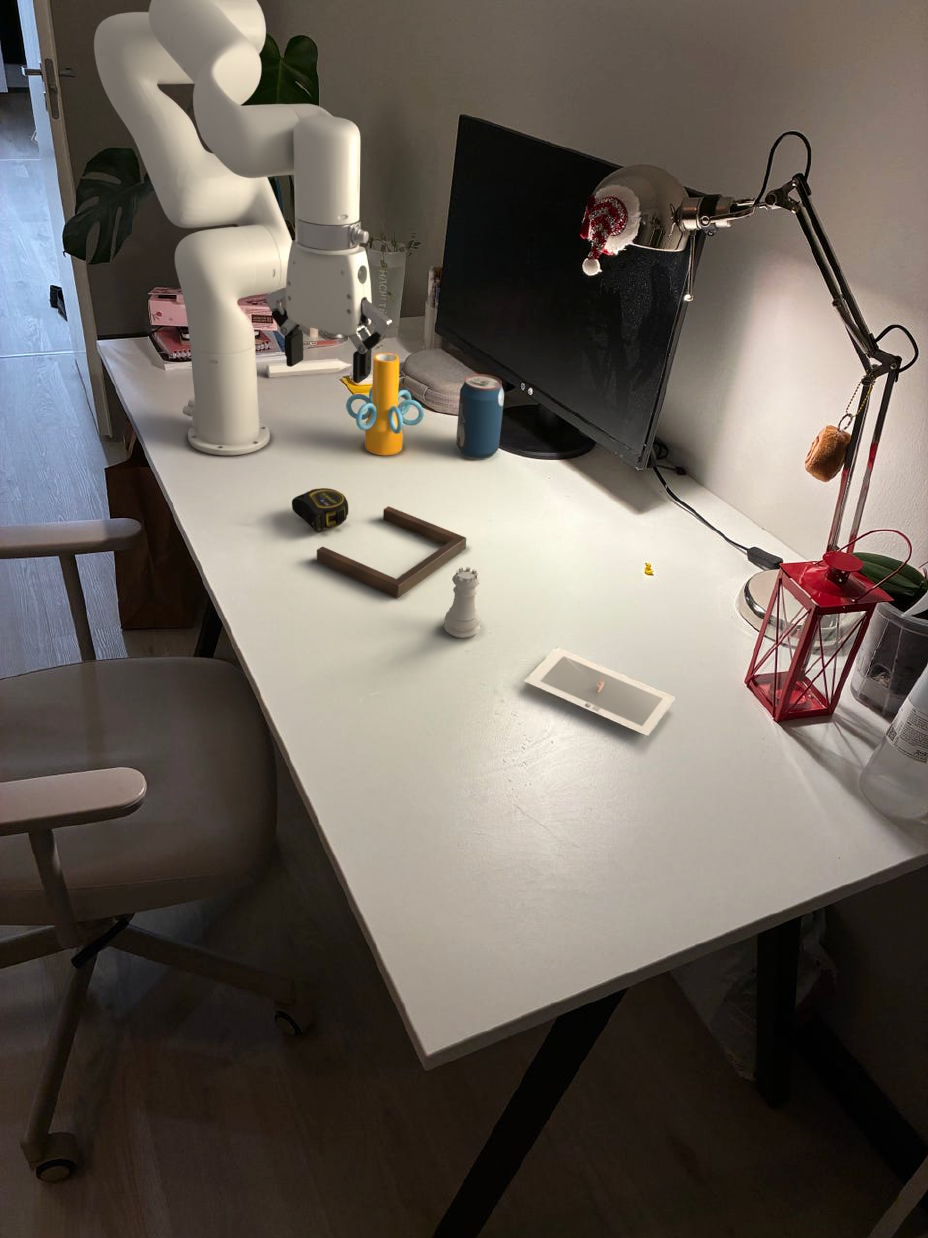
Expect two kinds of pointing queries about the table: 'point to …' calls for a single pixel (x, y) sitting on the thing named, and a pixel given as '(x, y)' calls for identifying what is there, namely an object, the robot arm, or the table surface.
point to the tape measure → (321, 508)
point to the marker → (306, 367)
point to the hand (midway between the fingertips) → (327, 371)
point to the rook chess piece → (463, 605)
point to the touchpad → (601, 690)
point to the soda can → (480, 416)
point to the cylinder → (384, 408)
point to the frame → (414, 575)
